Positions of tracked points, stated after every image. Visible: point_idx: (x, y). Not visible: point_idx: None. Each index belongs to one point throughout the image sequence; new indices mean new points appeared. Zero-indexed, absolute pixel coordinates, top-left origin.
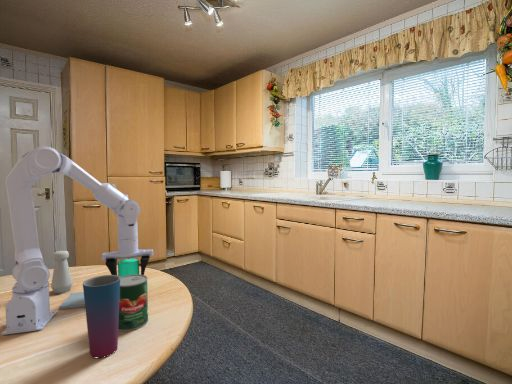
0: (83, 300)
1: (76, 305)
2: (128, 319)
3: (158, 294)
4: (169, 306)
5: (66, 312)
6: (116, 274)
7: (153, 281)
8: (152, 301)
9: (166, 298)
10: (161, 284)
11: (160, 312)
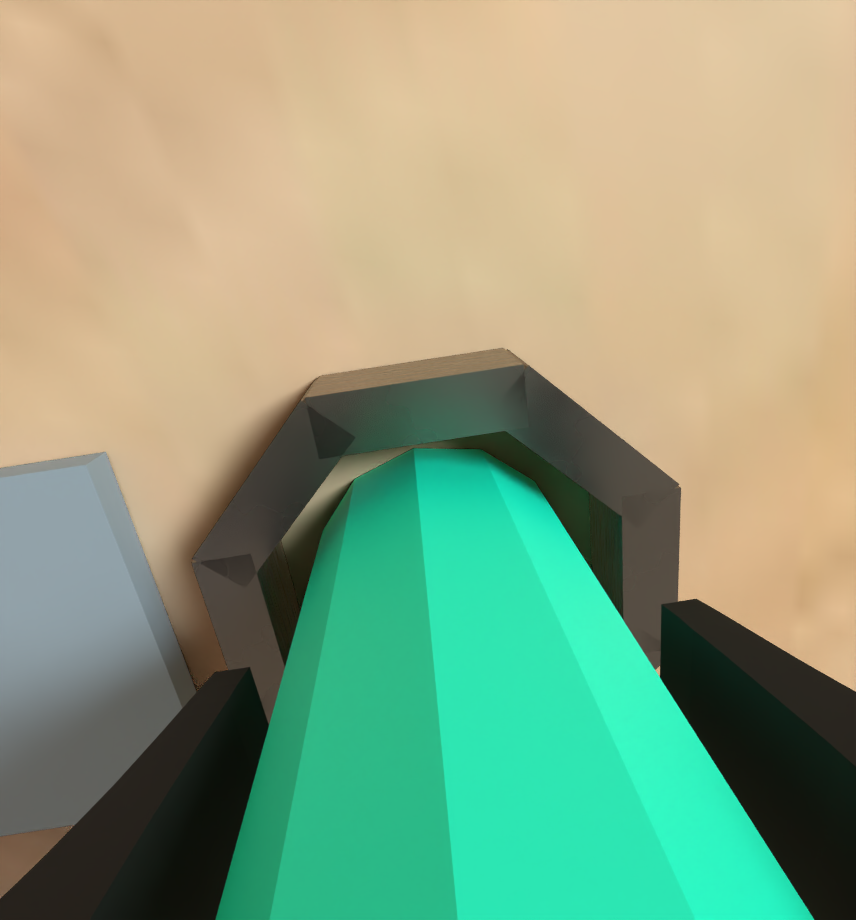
0: (4, 759)
1: (10, 827)
2: None
3: (777, 609)
4: None
5: (2, 870)
6: (207, 821)
7: (726, 67)
8: None
9: None
10: (844, 265)
11: None
